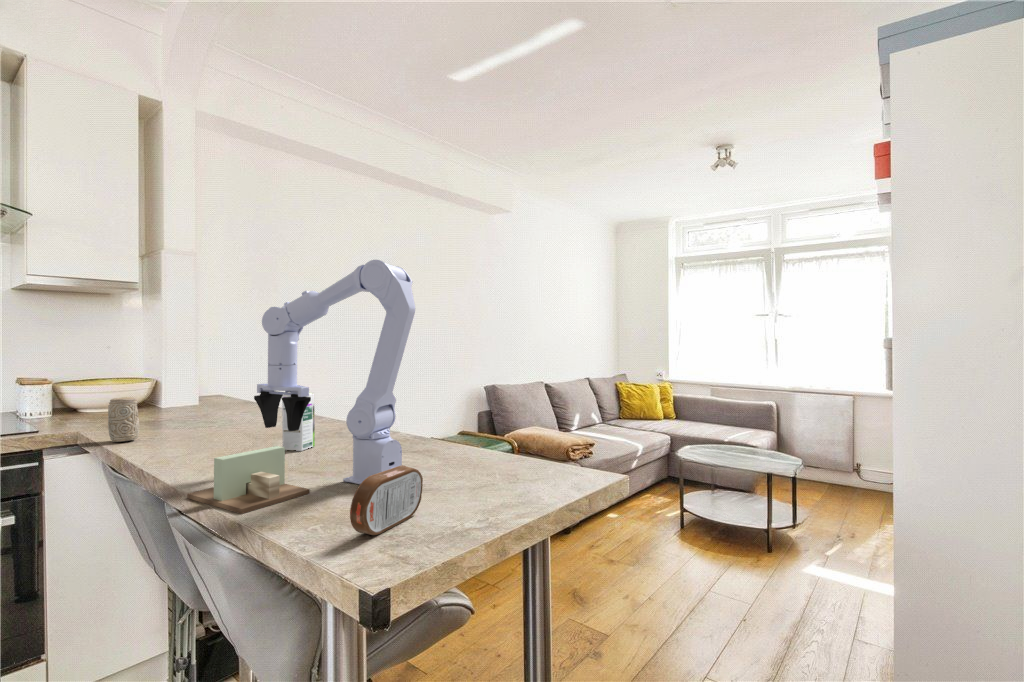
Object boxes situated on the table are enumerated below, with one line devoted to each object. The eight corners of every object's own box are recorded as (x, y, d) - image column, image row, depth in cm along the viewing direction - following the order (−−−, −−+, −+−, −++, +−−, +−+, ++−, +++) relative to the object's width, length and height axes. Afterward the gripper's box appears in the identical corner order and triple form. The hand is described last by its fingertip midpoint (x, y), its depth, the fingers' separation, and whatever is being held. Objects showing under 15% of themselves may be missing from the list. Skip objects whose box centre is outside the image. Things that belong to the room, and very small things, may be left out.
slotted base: (309, 493, 93) (309, 469, 93) (241, 513, 82) (242, 486, 82) (255, 481, 101) (255, 459, 101) (187, 498, 89) (187, 473, 89)
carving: (120, 439, 142) (121, 396, 142) (145, 439, 141) (146, 397, 141) (100, 443, 136) (101, 399, 136) (126, 444, 135) (127, 399, 135)
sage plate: (276, 482, 97) (276, 445, 97) (284, 484, 96) (284, 447, 96) (213, 498, 87) (214, 458, 87) (221, 501, 86) (222, 459, 86)
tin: (410, 509, 85) (410, 459, 85) (426, 512, 83) (426, 461, 83) (347, 541, 71) (348, 481, 71) (365, 545, 70) (366, 484, 70)
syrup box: (301, 451, 128) (302, 394, 128) (281, 450, 129) (281, 393, 129) (315, 447, 134) (315, 392, 134) (295, 446, 135) (295, 391, 135)
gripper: (243, 364, 107) (243, 428, 107) (288, 366, 100) (287, 435, 100) (273, 363, 113) (273, 423, 113) (317, 365, 106) (317, 429, 106)
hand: (281, 428), depth 107 cm, fingers open, 7 cm apart
